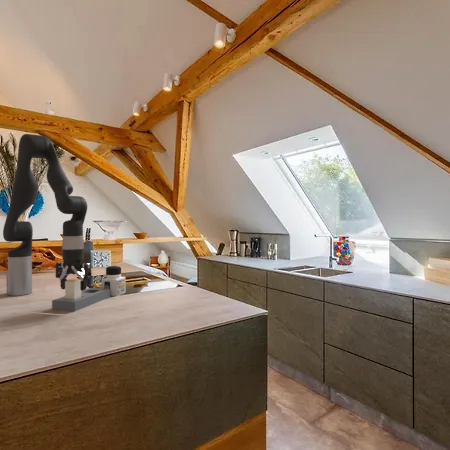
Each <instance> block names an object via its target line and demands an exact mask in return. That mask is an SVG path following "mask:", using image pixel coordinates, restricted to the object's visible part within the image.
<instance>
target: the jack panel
mask: <svg viewBox="0 0 450 450" xmlns="http://www.w3.org/2000/svg"><path fill="white" fill-rule="evenodd" d="M109 298H111V296H110V289H101V288H99V287H97V288H96V287H95V288H94V287H89V288H86V289H85V290H83V291H81V298H78V299H75V300H73V299H65V295H64V296H60V297H59V298H54V299H52V300H51V310H52V311H64V312H77V311H81V310H83V309H85V308H87V307H90V306H92V305H94V304H97V303H99V302H102V301H104V300H107V299H109Z"/></svg>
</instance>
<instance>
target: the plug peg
mask: <svg viewBox="0 0 450 450" xmlns="http://www.w3.org/2000/svg"><path fill="white" fill-rule="evenodd" d="M80 281H81V279H80V278H68V279H67V281H65V289H64V291H65V292H64V293H65V295H64V296H65V299H73V300H75V299H78V298H81V290H80Z"/></svg>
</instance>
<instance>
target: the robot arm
mask: <svg viewBox="0 0 450 450" xmlns="http://www.w3.org/2000/svg"><path fill="white" fill-rule="evenodd" d="M17 151H18V153H17V162H16V163H17V164H16V171H15V175H14V180H13V184H12V190H11V196H10V202H9V208H8V211H7V215H6V218H5V222H4V225H3V229H2V237H3V239H4V241H6V242H8V243H9V242H10V243H11V242H12V243H13V242H14V243H15V242H17V243H18V242H21V243H20V245H18V246H16V247H14V248H12V249H10V250H8V251H7V273H6V274H5V275H6V276H5V277H6V278H5V279H6V295H8V296H11V297H12V296H13V297H14V296H15V297H16V296H25V295H29V294H32V293H33V260H32V258H33V257H32V253H33V252H32V251H33V231H34V230H33V228H34V227H33V225H32V223H31V222H30V221H27V220H23V221H22V220H21V221H19V218H20V217H21V216H22V215H23V214H24V213H25V212H26V211H27V210H29V208H30V207H31V206H32V205H34V203H36V200H37V197H38V193H39V192H38V191H39V184H38V181H37V179H36V177H35V176H34V174H33V171H32V169H31V162H32V159H44V160H45V161H46V162H47V164H48V167H47V171H46V180H47V183H48V185H49V186H50V189H51V190H52V192H53V194H54V199H55V203H56V207H57V209H58V211H59V212H61V214H64V215H71V217H70V219H68V220H65V221H64V222H63V223H62V242H61V253H62V254H61V255H62V257H61V260H62V261H58V262H56V263H55V278H56V279H59V280H60V281H59V283H60V289H61V290H65V281H67V280H68V279H67V278H68V276H69V275H76V276H77V277H78V279H80V280H81V281H80V290H81V291H83V290H85V289H88V288H87V287H88V285H87V284H88V283H87V281H88V280H89V279H92V278H93V277H92V264H91V262H87V263H85V262H84V259H85V247H84V246H85V244H84V243H85V242H84V224H85V223H84V222H85V219H86V216H87V213H88V203H87V200H86V199H85V197H83V196H78V195H71V194H72V193H73V192H74V187H73V185H72V183H71V181H70V180H69V179H68V177H67V175H66V173H65V172H64V169H63V168H62V164H61V162H60V159H59V157H58V154H57V151H56V149H55V146H54V144H53V142H52V141H51V139H50V137H48V136H45V135H38V134H32V133H31V134H29V133H24V134H22V135H21V136H20V139H19V142H18V150H17Z"/></svg>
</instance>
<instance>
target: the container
mask: <svg viewBox="0 0 450 450" xmlns="http://www.w3.org/2000/svg"><path fill="white" fill-rule="evenodd" d="M126 280H127V279H126V276H122V266H120V265H109V266H107V267H106V268H105V278H102V279H101V281H100V282H101V288H100V289H110V297H118V296H120V295H121V296H122V295H123V294H125V293H126V292H127V291H126V285H127V284H126Z"/></svg>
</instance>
